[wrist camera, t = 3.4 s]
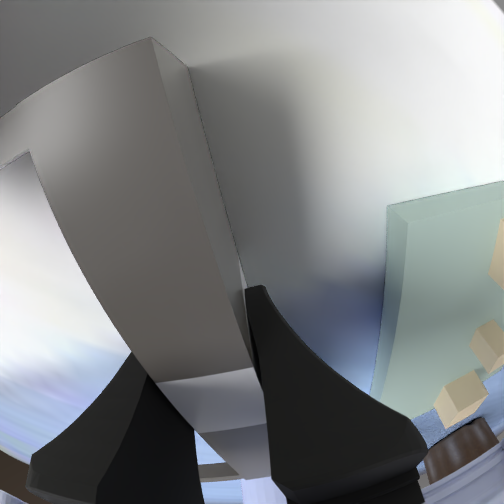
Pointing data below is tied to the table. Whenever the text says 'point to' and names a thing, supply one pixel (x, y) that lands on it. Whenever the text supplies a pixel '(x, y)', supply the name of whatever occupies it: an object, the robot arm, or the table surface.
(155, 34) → the table surface
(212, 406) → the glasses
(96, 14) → the table surface
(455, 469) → the plant pot
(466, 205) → the stand
